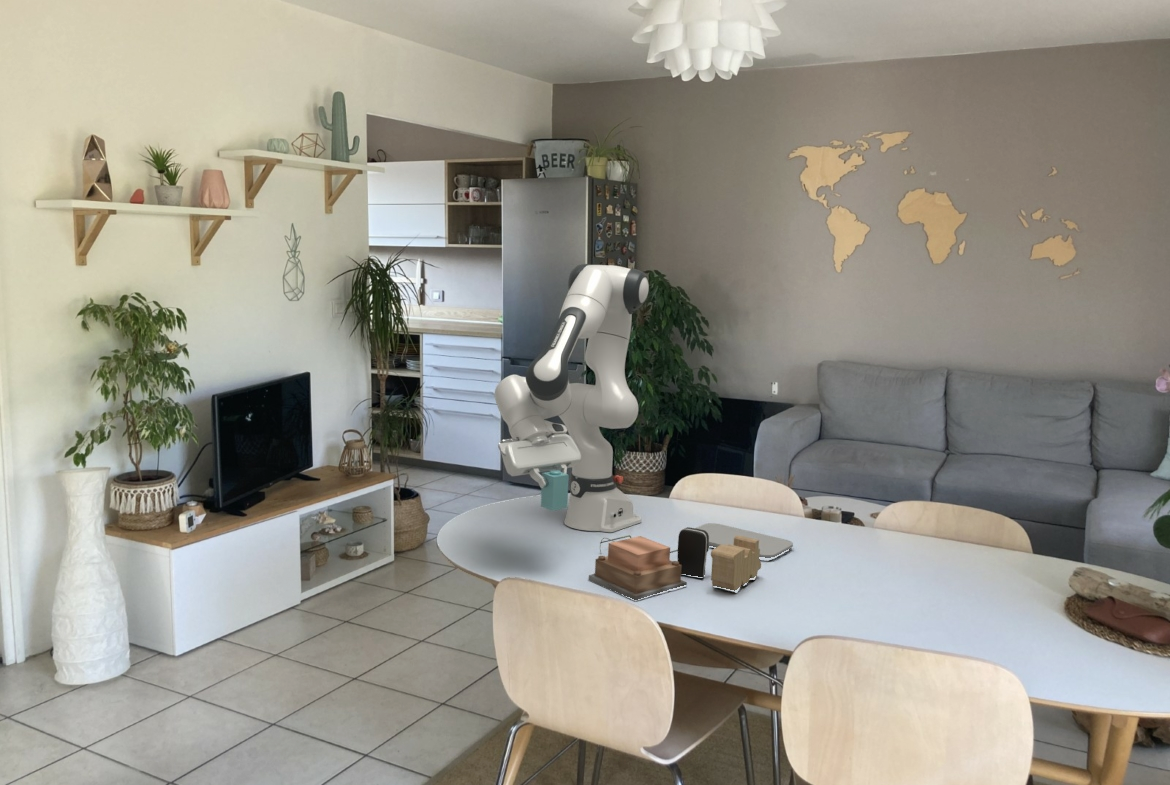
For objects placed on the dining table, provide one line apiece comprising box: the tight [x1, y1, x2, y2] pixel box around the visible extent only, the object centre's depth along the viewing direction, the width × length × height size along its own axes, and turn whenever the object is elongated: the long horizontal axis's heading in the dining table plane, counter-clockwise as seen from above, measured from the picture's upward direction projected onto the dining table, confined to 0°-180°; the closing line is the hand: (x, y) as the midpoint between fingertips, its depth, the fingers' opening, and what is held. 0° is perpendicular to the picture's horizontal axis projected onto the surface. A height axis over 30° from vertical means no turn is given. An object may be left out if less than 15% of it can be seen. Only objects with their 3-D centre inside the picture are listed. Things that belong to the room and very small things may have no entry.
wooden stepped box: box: [588, 535, 688, 600], centre depth 216 cm, size 16×16×9 cm
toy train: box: [710, 535, 762, 591], centre depth 218 cm, size 6×17×10 cm, turn 147°
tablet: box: [695, 522, 794, 558], centre depth 249 cm, size 16×26×2 cm, turn 54°
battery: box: [677, 526, 710, 578], centre depth 223 cm, size 7×4×11 cm, turn 64°
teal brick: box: [540, 470, 570, 511], centre depth 219 cm, size 4×4×9 cm
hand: (555, 484), depth 219 cm, fingers closed on teal brick, 4 cm apart
